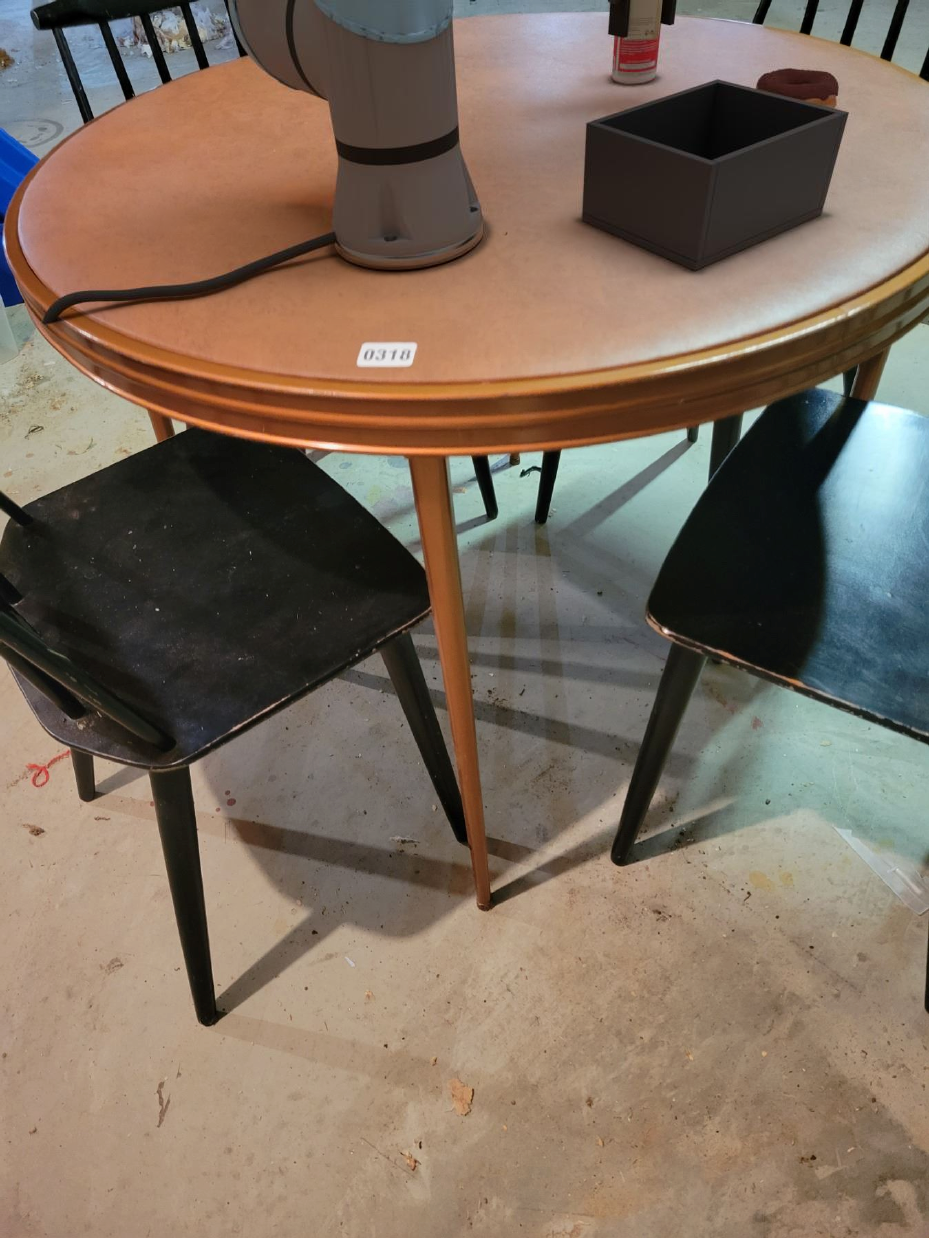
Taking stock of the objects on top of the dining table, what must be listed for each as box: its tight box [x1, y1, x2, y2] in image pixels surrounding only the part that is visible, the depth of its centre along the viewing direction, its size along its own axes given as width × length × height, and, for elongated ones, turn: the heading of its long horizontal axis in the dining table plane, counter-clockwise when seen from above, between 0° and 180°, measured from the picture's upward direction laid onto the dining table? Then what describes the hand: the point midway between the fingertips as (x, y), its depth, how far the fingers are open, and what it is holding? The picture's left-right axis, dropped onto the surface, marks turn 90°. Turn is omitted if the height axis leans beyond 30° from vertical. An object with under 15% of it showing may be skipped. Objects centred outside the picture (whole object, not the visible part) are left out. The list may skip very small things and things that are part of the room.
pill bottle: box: [611, 24, 662, 85], centre depth 105 cm, size 6×6×11 cm
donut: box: [755, 67, 840, 109], centre depth 94 cm, size 10×10×4 cm
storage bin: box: [581, 78, 850, 272], centre depth 74 cm, size 18×16×9 cm
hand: (641, 29), depth 96 cm, fingers closed on cosmetic box, 7 cm apart
